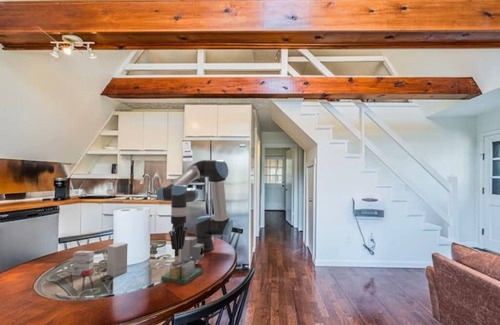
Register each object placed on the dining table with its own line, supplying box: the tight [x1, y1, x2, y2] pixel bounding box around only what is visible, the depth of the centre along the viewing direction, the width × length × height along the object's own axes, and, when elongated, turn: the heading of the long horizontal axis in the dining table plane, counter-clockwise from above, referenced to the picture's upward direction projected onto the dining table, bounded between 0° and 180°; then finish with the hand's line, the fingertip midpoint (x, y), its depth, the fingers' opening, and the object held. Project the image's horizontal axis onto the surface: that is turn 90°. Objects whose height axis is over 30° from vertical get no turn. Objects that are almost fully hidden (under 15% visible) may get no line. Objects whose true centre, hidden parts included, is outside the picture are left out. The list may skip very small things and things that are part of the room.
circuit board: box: [160, 260, 204, 286], centre depth 150 cm, size 18×14×7 cm
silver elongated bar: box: [171, 256, 194, 266], centre depth 150 cm, size 16×4×2 cm, turn 161°
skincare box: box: [106, 241, 129, 278], centre depth 153 cm, size 8×7×16 cm
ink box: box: [72, 250, 95, 277], centre depth 152 cm, size 8×5×12 cm, turn 89°
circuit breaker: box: [181, 236, 206, 264], centre depth 171 cm, size 8×14×15 cm, turn 78°
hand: (177, 262), depth 145 cm, fingers closed
